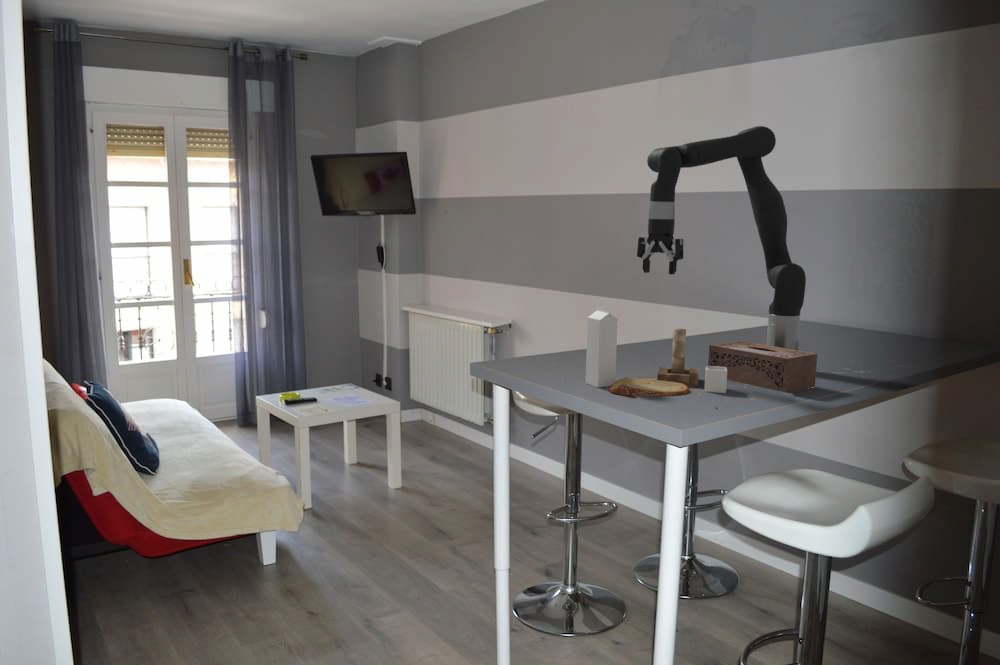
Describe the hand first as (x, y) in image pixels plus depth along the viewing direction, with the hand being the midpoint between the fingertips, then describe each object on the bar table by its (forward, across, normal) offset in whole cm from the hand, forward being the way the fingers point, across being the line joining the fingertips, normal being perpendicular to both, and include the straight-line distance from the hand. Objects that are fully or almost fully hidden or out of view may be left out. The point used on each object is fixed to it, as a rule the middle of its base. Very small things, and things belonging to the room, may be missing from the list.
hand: (658, 273), depth 233 cm
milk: (+30, +2, +24) cm, 39 cm away
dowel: (+30, -12, +7) cm, 33 cm away
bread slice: (+31, -12, +22) cm, 40 cm away
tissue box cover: (+31, -28, -12) cm, 43 cm away
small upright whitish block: (+30, -25, +9) cm, 40 cm away
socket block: (+30, -12, +7) cm, 33 cm away
